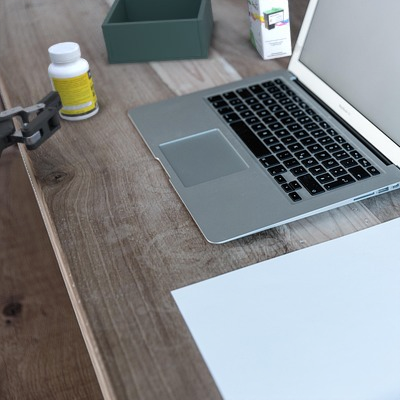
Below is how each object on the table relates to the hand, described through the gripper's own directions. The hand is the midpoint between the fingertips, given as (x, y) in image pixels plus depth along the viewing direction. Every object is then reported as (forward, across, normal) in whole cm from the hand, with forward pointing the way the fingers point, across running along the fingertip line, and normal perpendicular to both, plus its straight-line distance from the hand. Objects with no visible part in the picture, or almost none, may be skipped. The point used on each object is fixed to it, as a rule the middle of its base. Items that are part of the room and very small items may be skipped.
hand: (26, 95), depth 88 cm
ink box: (+36, -21, +8) cm, 42 cm away
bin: (+36, -2, +8) cm, 37 cm away
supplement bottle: (+10, 0, +8) cm, 13 cm away
